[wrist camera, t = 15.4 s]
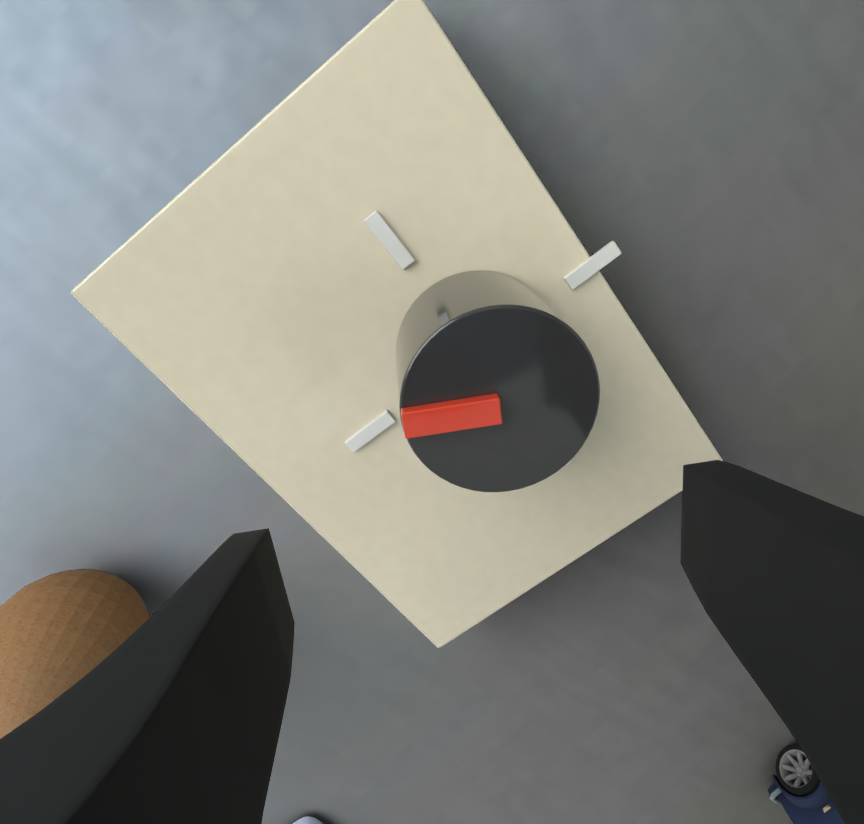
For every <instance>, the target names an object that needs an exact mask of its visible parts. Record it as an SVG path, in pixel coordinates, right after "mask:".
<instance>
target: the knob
mask: <svg viewBox="0 0 864 824" xmlns="http://www.w3.org/2000/svg"><path fill="white" fill-rule="evenodd" d="M396 368H397V382H398V396H399V410H400V420H401V424H402V428H403V432H404V435H405V438H406V439H407V441H408V443H409V445H410V447H411V449H412V450H413V452H414V453H415V455H416V456H417V457H418V459H419V460H420V461H421V462H422V463H423V464H424V465H425V466H426V467H427V468H428V469H429V470H430V471H432V472H433V473H434V474H436V475H437V476H438V477H440V478H442V479H444V480H445V481H447V482H449V483H451V484H454V485H456V486H459V487H461V488H465V489H469V490H473V491H480V492H506V491H513V490H517V489H522V488H525V487H528V486H531V485H534V484H536V483H538V482H540V481H542V480H544V479H546V478H548V477H549V476H551V475H553V474H554V473H556V472H557V471H558V470H560V469H561V468H562V467H564V466H565V465H566V464H567V463H568V462H569V461H570V460H571V459H572V458H573V457H574V456H575V455H576V454H577V452H578V451H579V450H580V449H581V447H582V446H583V444H584V443H585V441H586V439H587V438H588V436H589V434H590V432H591V430H592V428H593V425H594V422H595V419H596V416H597V413H598V407H599V401H600V383H599V375H598V371H597V367H596V364H595V361H594V359H593V357H592V354H591V352H590V351H589V349H588V347H587V346H586V344H585V342H584V341H583V340H582V339H581V337H580V336H579V335H578V334H577V333H576V332H575V331H574V330H573V329H572V328H571V327H570V326H569V325H568V324H567V323H566V322H565V321H564V320H563V319H562V318H561V317H560V316H559V315H558V314H557V313H556V312H555V311H554V310H553V309H552V308H551V307H550V306H549V305H548V304H547V303H546V302H545V301H544V300H543V299H542V298H541V297H540V296H539V295H538V294H537V293H536V292H534V291H533V290H532V289H531V288H530V287H529V286H527V285H526V284H524V283H523V282H521V281H520V280H518V279H516V278H514V277H512V276H509V275H506V274H503V273H499V272H494V271H483V270H476V271H467V272H462V273H458V274H454V275H452V276H449V277H446V278H444V279H442V280H440V281H438V282H436V283H435V284H434V285H432V286H431V287H429V288H428V289H426V290H425V291H424V292H423V293H422V294H421V295H420V296H419V297H418V298H417V299H416V300H415V301H414V303H413V304H412V305H411V307H410V308H409V310H408V311H407V313H406V314H405V316H404V318H403V321H402V323H401V325H400V328H399V332H398V335H397V341H396Z"/></svg>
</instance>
